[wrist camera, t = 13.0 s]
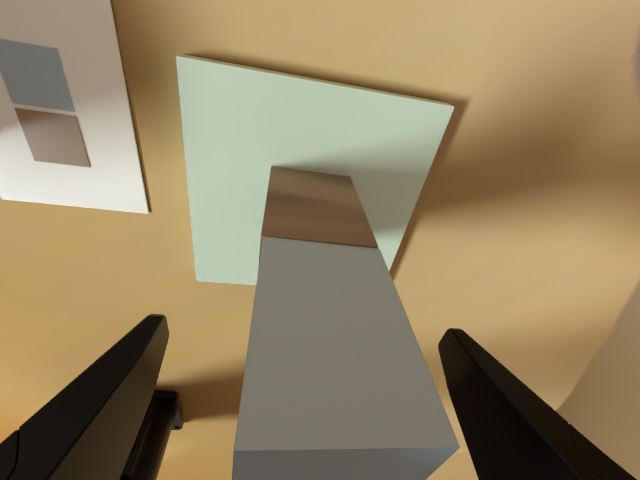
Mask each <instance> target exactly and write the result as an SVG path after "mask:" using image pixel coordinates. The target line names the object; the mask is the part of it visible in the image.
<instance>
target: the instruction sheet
mask: <svg viewBox="0 0 640 480" xmlns="http://www.w3.org/2000/svg"><path fill="white" fill-rule="evenodd" d="M0 196H1V198H2V199H5V200H15V201H25V202H35V203H46V204H56V205H66V206H76V207H86V208H96V209H106V210H116V211H126V212H136V213H146V214H148V213H149V210H148V205H147V199H146V194H145V188H144V183H143V177H142V172H141V166H140V161H139V155H138V150H137V144H136V139H135V133H134V128H133V122H132V117H131V111H130V106H129V100H128V94H127V89H126V83H125V78H124V72H123V67H122V61H121V56H120V50H119V45H118V39H117V34H116V28H115V23H114V17H113V12H112V6H111V1H110V0H0Z"/></svg>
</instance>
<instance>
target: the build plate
mask: <svg viewBox="0 0 640 480" xmlns="http://www.w3.org/2000/svg"><path fill="white" fill-rule="evenodd" d="M176 65H177V76H178V87H179V98H180V109H181V120H182V131H183V142H184V153H185V164H186V175H187V186H188V197H189V208H190V219H191V230H192V241H193V252H194V263H195V274H196V281H203V282H218V283H233V284H248V285H256V284H257V277H258V267H259V254H260V240H261V231H262V224H263V217H264V211H265V204H266V197H267V191H268V184H269V177H270V170H271V166H276V167H283V168H291V169H298V170H305V171H313V172H320V173H327V174H335V175H342V176H349V177H351V180H352V182H353V185H354V187H355V190H356V192H357V194H358V197H359V199H360V202H361V204H362V207H363V209H364V212H365V214H366V217H367V219H368V222H369V224H370V227H371V229H372V232H373V234H374V237H375V239H376V242H377V244H378V249H380V251H381V253H382V256H383V258H384V261H385V263H386V265H387V268H388V270H389V271H390V268H391V266H392V263H393V261H394V258H395V255H396V253H397V250H398V248H399V245H400V243H401V240H402V238H403V235H404V233H405V230H406V228H407V225H408V223H409V220H410V218H411V215H412V213H413V210H414V208H415V205H416V203H417V200H418V198H419V195H420V193H421V190H422V188H423V185H424V183H425V180H426V178H427V175H428V173H429V170H430V168H431V165H432V162H433V160H434V157H435V155H436V152H437V150H438V147H439V145H440V142H441V140H442V137H443V135H444V132H445V130H446V127H447V125H448V122H449V120H450V117H451V115H452V112H453V110H454V106H452V105H450V104H448V103H446V102H441V101H436V100H430V99H425V98H419V97H414V96H409V95H403V94H398V93H392V92H387V91H381V90H376V89H370V88H365V87H359V86H354V85H348V84H343V83H338V82H332V81H327V80H321V79H316V78H310V77H305V76H299V75H294V74H288V73H283V72H277V71H272V70H267V69H261V68H256V67H250V66H245V65H239V64H234V63H228V62H223V61H217V60H212V59H207V58H201V57H196V56H190V55H185V54H182V55H178V56H176Z"/></svg>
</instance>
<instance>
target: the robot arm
mask: <svg viewBox="0 0 640 480" xmlns="http://www.w3.org/2000/svg"><path fill="white" fill-rule="evenodd" d="M168 338H169V330H168V325H167V320H166V316H165V315H161V314H150V315H148V316H147V317H146V318H144V319H143V320H142V321H141V322H140V323H139V324H138V325H136V326H135V327H134V328H133V329H132V330H131V331H129V332H128V333H127V334H126V335H125V336H124V337H123V338H121V339H120V340H119V341H118V342H117V343H116V344H115V345H113V346H112V347H111V348H110V349H109V350H108V351H106V352H105V353H104V354H103V355H102V356H101V357H100V358H98V359H97V360H96V361H95V362H94V363H93V364H92V365H90V366H89V367H88V368H87V369H86V370H85V371H83V372H82V373H81V374H80V375H79V376H78V377H77V378H75V379H74V380H73V381H72V382H71V383H70V384H69V385H67V386H66V387H65V388H64V389H63V390H62V391H60V392H59V393H58V394H57V395H56V396H55V397H54V398H52V399H51V400H50V401H49V402H48V403H47V404H45V405H44V406H43V407H42V408H41V409H40V410H39V411H37V412H36V413H35V414H34V415H33V416H32V417H31V418H29V419H28V420H27V421H26V422H25V423H24V424H22V425H21V426H20V428H19V430H16V431H14V432H13V433H12V434H11V435H10V436H8V437H7V438H6V439H5V440H4V441H3V442H2V443H0V480H156V479H157V476H158V473H159V469H160V466H161V463H162V459H163V456H164V453H165V449H166V446H167V443H168V439H169V436H170V433H171V430H180V429H182V427H183V418H182V413H181V408H180V403H179V398H178V394H176V393H173V392H154V389H155V386H156V383H157V379H158V375H159V372H160V368H161V364H162V361H163V357H164V353H165V350H166V346H167V343H168ZM438 348H439V354H440V358H441V362H442V366H443V370H444V374H445V378H446V383H447V387H448V390H449V394H450V397H451V400H452V403H453V406H454V409H455V412H456V415H457V418H458V421H459V424H460V427H461V429H462V432H463V435H464V438H465V441H466V444H467V447H468V450H469V453H470V456H471V458H472V461H473V464H474V467H475V470H476V473H477V476H478V479H479V480H637V479H635V478H634V477H633V476H632V475H630V474H629V473H628V472H626V471H625V470H624V469H623V468H622V467H620V466H619V465H618V464H617V463H615V462H614V461H613V460H612V459H610V458H609V457H608V456H607V455H606V454H604V453H603V452H602V451H601V450H600V449H599V448H597V447H596V446H595V445H594V444H593V443H591V442H590V441H589V440H588V439H587V438H586V437H584V436H583V435H582V434H581V433H580V432H579V431H577V430H576V429H575V428H574V427H573V426H572V425H571V424H568V422H567V421H566V420H565V419H563V417H561V416H560V415H559V414H558V413H557V412H556V411H555V410H553V409H552V408H551V407H550V406H549V405H548V404H547V403H545V402H544V401H543V400H542V399H541V398H540V397H539V396H537V395H536V394H535V393H534V392H533V391H532V390H531V389H529V388H528V387H527V386H526V385H525V384H524V383H523V382H521V381H520V380H519V379H518V378H517V377H516V376H515V375H513V374H512V373H511V372H510V371H509V370H508V369H507V368H505V367H504V366H503V365H502V364H501V363H500V362H499V361H497V360H496V359H495V358H494V357H493V356H492V355H491V354H489V353H488V352H487V351H486V350H485V349H484V348H482V347H481V346H480V345H479V344H478V343H477V342H476V341H474V340H473V339H472V338H471V337H470V336H469V335H468V334H466V333H465V332H464V331H463V330H461V329H456V328H449V329H448V330H447V331H446V332H445V334H444V336H443V337H442V339H441V340H440V342H439V346H438Z"/></svg>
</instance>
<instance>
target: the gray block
mask: <svg viewBox="0 0 640 480" xmlns="http://www.w3.org/2000/svg"><path fill="white" fill-rule="evenodd" d="M459 448H460V446H459V443H458V441H457V438H456V436H455V434H454V431H453V429H452V426H451V424H450V421H449V419H448V416H447V414H446V411H445V409H444V406H443V404H442V401H441V399H440V396H439V394H438V392H437V389H436V387H435V384H434V382H433V379H432V377H431V374H430V372H429V369H428V367H427V364H426V362H425V359H424V357H423V354H422V352H421V349H420V347H419V345H418V342H417V340H416V337H415V335H414V332H413V330H412V327H411V325H410V322H409V320H408V317H407V315H406V312H405V310H404V307H403V305H402V303H401V300H400V298H399V295H398V293H397V290H396V288H395V285H394V283H393V280H392V278H391V275H390V273H389V270H388V268H387V265H386V263H385V261H384V258H383V256H382V253H381V251H380V249H377V248H367V247H358V246H349V245H339V244H330V243H321V242H312V241H302V240H293V239H284V238H274V237H265V236H263V240H262V247H261V255H260V262H259V269H258V277H257V284H256V291H255V298H254V306H253V313H252V320H251V328H250V335H249V342H248V349H247V357H246V364H245V371H244V378H243V386H242V393H241V400H240V408H239V415H238V422H237V429H236V437H235V444H234V452H233V471H232V480H426V479H427V478H428V477H429V476H430V475H431V474H432V473H433V472H434V471H435V470H436V469H437V468H438V467H439V466H441V465H442V464H443V463H444V462H445V461H446V460H447V459H448V458H449V457H450V456H451V455H452V454H453V453H455V452H456V451H457V450H458V449H459Z"/></svg>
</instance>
